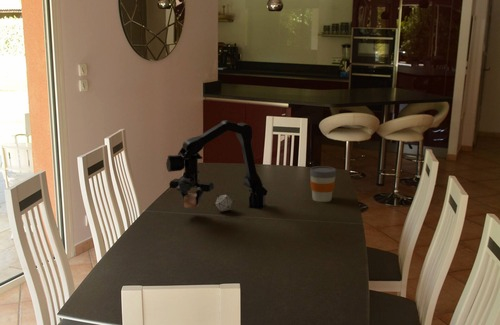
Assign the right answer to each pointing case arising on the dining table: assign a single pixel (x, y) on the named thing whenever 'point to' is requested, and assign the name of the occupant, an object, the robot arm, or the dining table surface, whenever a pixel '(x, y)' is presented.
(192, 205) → the terracotta block
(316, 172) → the reusable coffee cup
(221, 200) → the game die
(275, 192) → the dining table surface
